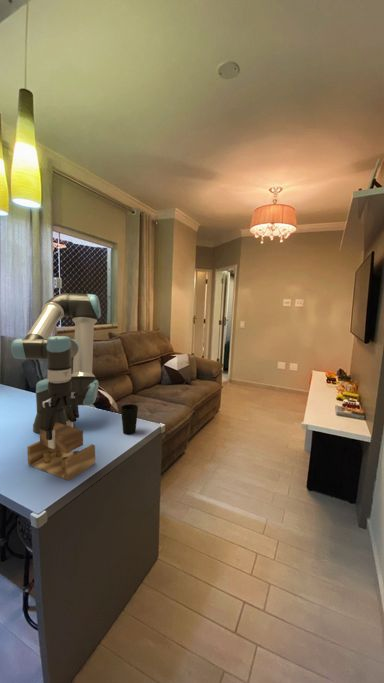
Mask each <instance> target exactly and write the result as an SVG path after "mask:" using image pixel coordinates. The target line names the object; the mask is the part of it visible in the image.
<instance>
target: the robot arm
mask: <svg viewBox="0 0 384 683" xmlns="http://www.w3.org/2000/svg"><path fill="white" fill-rule="evenodd" d="M101 315H102V311H101V303H100V299H99V296H97V295H96V294H91V293H68V292H65V293H60V294H57V295H55V296H53V297H51V298H50V299H48V300H47V301H46V302H45V303H44V304H43V305H42V307H41V313H40V314H39V316H38V317H37V319H36V320H35V322H34V323H33V325H32V327H31V328H30V330H29V331H28V332H27V334H26V336H25V337H24V338H21V337H20V338H15V339H14V340H13V341H12V342H11V345H10V346H11V347H10V352H11V355H12V357H13V358H14V359H16V360H46V362H47V363H46V364H47V365H46V366H47V378H44V379H42V380H41V379H40V380H39V381H38V382H37V383H36V385H35V398H36V399H35V400H36V401H35V402H36V414H35V419H34V422H33V424H32V431H33V432H34V433H35V434H38V435H40V430H43V431H46V439H47V440H48V447H49V448H52V449H55V448H56V447H55V430H53V427H54V424H55V423H60V424H63V425H66V426H70V427H73V428H76V427H75V422H77V421H78V419H79V418H80V412H79V406H82V407H83V406H84V407H85V406H91V405H94V403H95V402H96V401H97V400H96V399H97V397H98V391H99V381H98V380H97V379H96V376H95V375H94V373H93V360H94V359H93V356H94V355H93V354H94V353H93V351H94V333H95V332H94V331H95V327H94V326H95V325H96V324H97V322H98V319H100V318H101V317H102V316H101ZM63 318H71V321H72V322H73V323H74V324H75V325H74V338H71V337H69V336H68V335H67V336H65V335H57V336H51V335H52V333H53V332H54V329H55V328H56V326H57V324H58V322H59V321H61V320H62V319H63ZM72 358H73V360H72ZM72 361H73V362H72ZM72 364H73V365H72ZM49 426H50V427H49Z"/></svg>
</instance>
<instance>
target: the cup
mask: <svg viewBox="0 0 384 683" xmlns="http://www.w3.org/2000/svg"><path fill="white" fill-rule="evenodd" d="M138 406H139V405H137V404H133V403H132V404H130V403H128V404H124V405H122V406H120V414H121V422H122V423H121V424H122V433H123V434H124V435H127V436H129V435H135V433H136V430H137V421H138V411H139V407H138Z"/></svg>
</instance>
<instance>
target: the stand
mask: <svg viewBox="0 0 384 683" xmlns="http://www.w3.org/2000/svg"><path fill="white" fill-rule="evenodd" d="M26 447H27V448H26V449H27V465H28V464H29V465H32V466H33V467H32V466H31V467H32V468H34V467H36V468H35V469H37V468H38V469H37V470H40V469H41V470H40V471H42V470H43V471H42V472H45V471H46V472H45V473H47V472H48V474H50V475H53V476H56V477H58V478H61V479H64V480H66V481H70V480H72V479H73V478H75V477H77V476H78V475H79V474H81V473H82V472H84V471H85V470H87V469H89V468H90V467H91V466H93V465H94V464H96V445H95V444H92V443H91V444H90V445H88V446H86V447H85V448H82V449H81V450H73V451H72V452H69V453H67V454H66V453H63V452H61V451H58V450H55V449H52V448H49V447H47V446H45V445H42V444H40V440H39V441H36V442H35V443H31V444H29V445H28V446H26ZM29 465H28V466H29Z"/></svg>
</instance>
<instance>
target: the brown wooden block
mask: <svg viewBox="0 0 384 683" xmlns="http://www.w3.org/2000/svg"><path fill="white" fill-rule="evenodd" d="M49 427H50V426H49ZM53 430H55V447H56V448H55V450H58V451H61V452H63V453H66V454H67V453H69V452H70V453H72V452H74V451H76V450H77V449H79V448H81V447H82V446H84V430H82V429H79V428H76V427H75V428H73V427H70V426H66V425H63V424H60V423H55V424H54V427H53ZM39 441H40V444H42V445H45V446H47V447H48V440H47V439H46V431H43V430H40V434H39Z"/></svg>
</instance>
